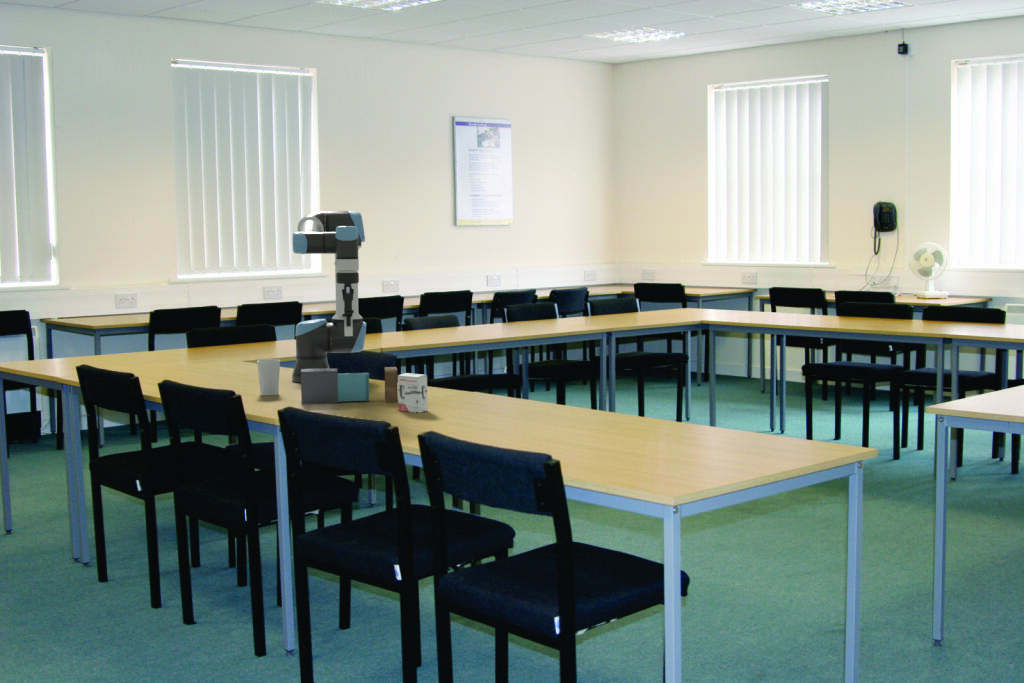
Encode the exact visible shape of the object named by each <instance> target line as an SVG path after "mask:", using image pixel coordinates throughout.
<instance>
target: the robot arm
mask: <svg viewBox="0 0 1024 683" xmlns="http://www.w3.org/2000/svg"><path fill="white" fill-rule="evenodd" d="M297 224H298V225H297V231H295V232H293V233H292V252H293V253H294V254H301V255H305V254H306V255H309V254H313V255H314V254H316V255H317V254H321V255H322V254H324V255H325V254H326V255H327V254H333V255H334V269H335V270H334V273H335V276H334V278H335V281H334V282H335V283H334V284H335V314H334V315H333V316H332V318H331V322H328V321H327V319H326V318H316V319H310V320H304V321H300V322H299V323H297V324H296V326H295V334H294V335H295V348H296V349H295V354H296V355H295V358H296V360H295V365H294V368H293V369H292V370H293V371H292V374H291V381H292V382H294V383H300V384H301V369H325V368H330V365H329V362H328V354H329V353H330V354H331V353H334V354H336V353H337V354H338V353H339V354H340V353H343V354H344V353H345V354H346V353H350V354H352V353H361V352H362V351H363V350H364V348H365V342H366V333H367V322H365V321H363V316H362V315H360V313H359V281H360V276H359V275H360V274H359V269H360V264H359V263H360V262H359V261H360V260H359V250H360V249H361V247H362V243H364V242H366V236H365V228H364V223H363V216H362V214H361V213H360V212H359V211H357V210H355V211H353V210H320V211H314V212H311V213H309V214H307V215H305V216H303V217H302V218H301V219H300V221H299V222H298V223H297Z"/></svg>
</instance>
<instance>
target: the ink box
mask: <svg viewBox="0 0 1024 683" xmlns="http://www.w3.org/2000/svg"><path fill="white" fill-rule="evenodd" d="M397 393H398V402H397V403H398V411H399V412H406V411H409V412H408V413H416V412H418V414H421V413H425V412H427V411H428V405H429V404H428V375H426V374H421V373H420V374H419V373H410V372H405V373H401V374H397ZM424 411H425V412H424Z"/></svg>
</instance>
